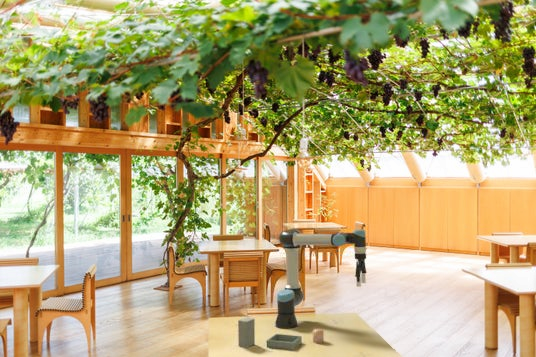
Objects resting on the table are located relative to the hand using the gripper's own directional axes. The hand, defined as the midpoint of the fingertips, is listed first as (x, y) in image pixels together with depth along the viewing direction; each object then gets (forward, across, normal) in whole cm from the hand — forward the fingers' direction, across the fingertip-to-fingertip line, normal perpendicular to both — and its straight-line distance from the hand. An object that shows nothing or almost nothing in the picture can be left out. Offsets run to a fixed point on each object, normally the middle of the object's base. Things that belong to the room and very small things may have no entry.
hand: (361, 284), depth 338 cm
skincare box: (+28, -62, +55) cm, 88 cm away
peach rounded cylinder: (+28, -41, +17) cm, 53 cm away
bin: (+28, -54, +34) cm, 70 cm away
